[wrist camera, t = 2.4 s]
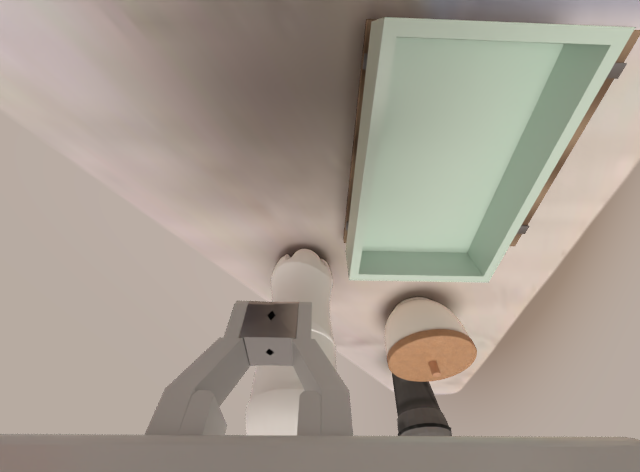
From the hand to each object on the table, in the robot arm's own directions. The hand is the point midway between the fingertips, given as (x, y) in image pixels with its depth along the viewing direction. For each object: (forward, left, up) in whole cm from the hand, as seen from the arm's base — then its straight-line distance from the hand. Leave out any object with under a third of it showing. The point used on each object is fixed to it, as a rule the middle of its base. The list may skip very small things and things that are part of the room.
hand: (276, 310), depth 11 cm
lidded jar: (+23, +16, -18) cm, 34 cm away
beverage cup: (+35, +17, -18) cm, 43 cm away
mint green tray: (0, +12, -17) cm, 20 cm away
